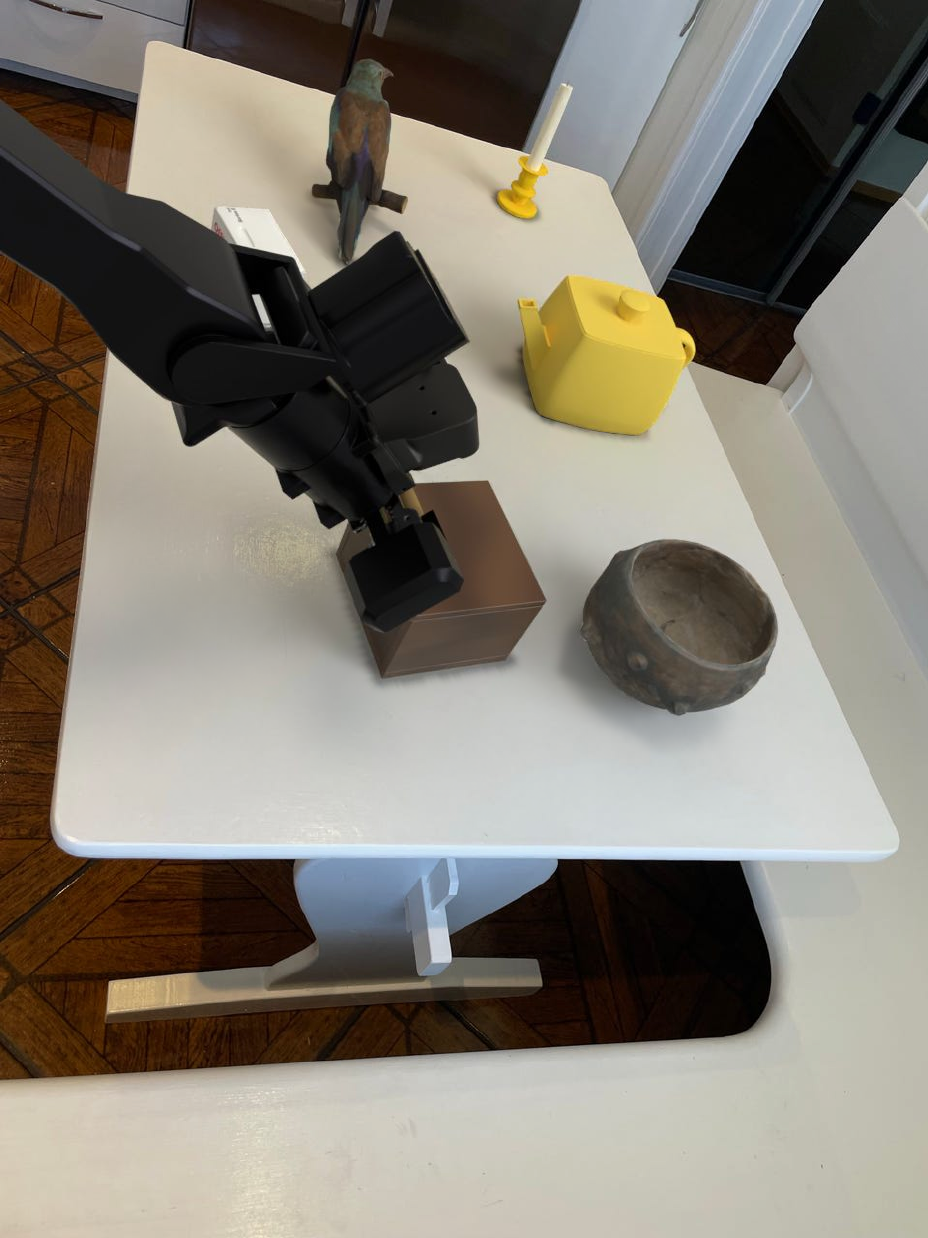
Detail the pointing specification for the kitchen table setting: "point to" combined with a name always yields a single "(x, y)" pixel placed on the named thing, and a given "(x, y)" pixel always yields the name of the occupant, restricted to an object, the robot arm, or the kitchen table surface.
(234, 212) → the ink box
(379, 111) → the bird figurine
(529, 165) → the candle
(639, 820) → the kitchen table surface
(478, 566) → the lid
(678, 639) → the bowl
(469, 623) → the chest
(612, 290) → the teapot
